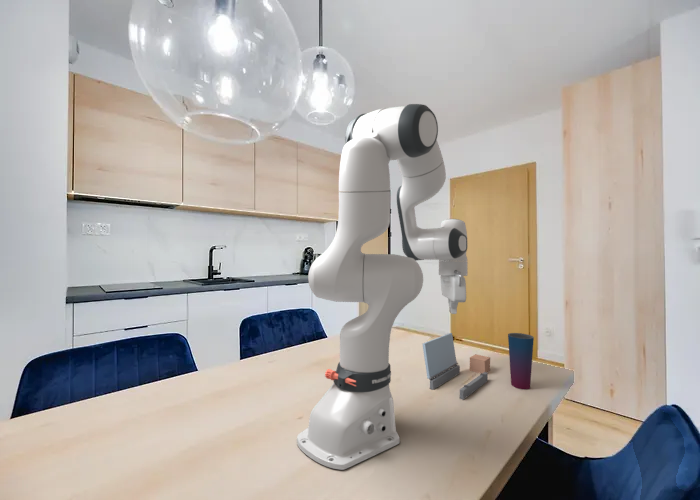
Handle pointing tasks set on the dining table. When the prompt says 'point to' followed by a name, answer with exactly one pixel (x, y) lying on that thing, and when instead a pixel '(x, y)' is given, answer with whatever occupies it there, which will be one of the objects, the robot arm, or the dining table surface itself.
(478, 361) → the block
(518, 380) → the cup
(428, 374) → the cover
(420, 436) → the dining table surface
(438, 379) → the grey rail
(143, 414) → the dining table surface
